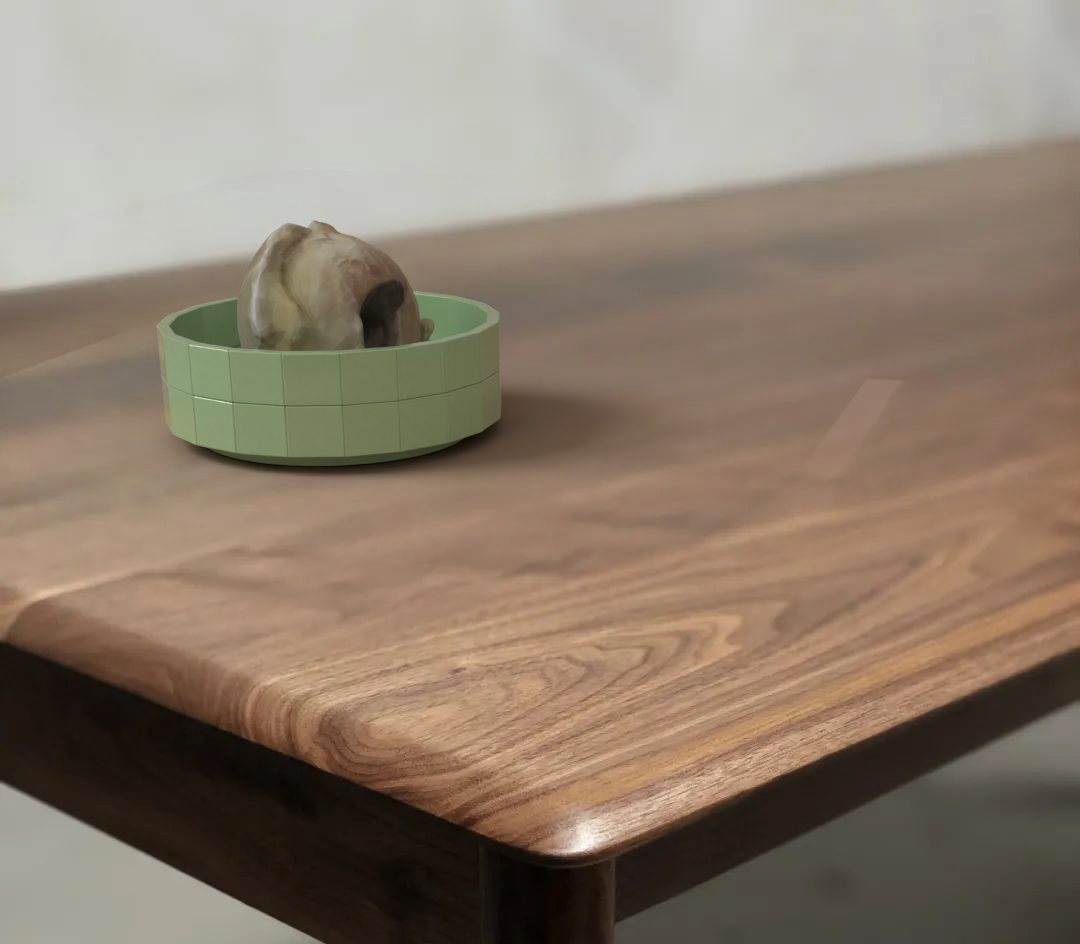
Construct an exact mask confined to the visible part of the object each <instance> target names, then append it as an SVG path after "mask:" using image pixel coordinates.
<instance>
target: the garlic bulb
mask: <svg viewBox="0 0 1080 944" xmlns="http://www.w3.org/2000/svg"><path fill="white" fill-rule="evenodd" d="M413 291H414V290H413V288H412V286H411V284H410V282H409V280H408V278H407V276H406V274H405V273H404V272H403V270H402V269H401V267H400V265H398V263H397V262H395V260H394V259H392V258H391V256H389V254H387V252H384V250H382V249H380V248H378V247H376V246H374V245H373V244H371V243H368V242H365V241H363V240H362V239H360V238H359V237H357V236H355V235H350V234H345V233H342V232H340V231H338V230H337V229H336V228H335V227H334V226H333V225H331V224H329V223H327V222H323V221H319V220H317V219H314V220H312V221H311V222H310V223H309V225H308V226H306V227H305V226H303V225H299V224H296V223H291V222H285V223H283V224H282V225H281V226H279V227H278V228H276V230H273V232H271V233H270V235H268V237H266V239H265V240H264V241H263V243H262V244H261V246H260V247H259V248H258V250H257V251H256V253H254V256H253V258H252V260H251V262H250V263H249V265H248V267H247V269H246V272H245V274H244V276H243V279H242V282H241V285H240V289H239V293H238V296H237V297H238V302H237V324H238V332H239V338H240V343H241V349H257V350H274V351H339V350H352V349H366V348H379V347H392V346H399V345H406V344H412V343H419V342H420V341H421V342H426V341H428V340H429V338H430V336H431V334H432V333H433V331H434V322H433V321H432V320H431V319H428V318H423V319H420V315H419V306H418V303H417V300H416V297H415V295H414V292H413Z"/></svg>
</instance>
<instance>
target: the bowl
mask: <svg viewBox="0 0 1080 944" xmlns="http://www.w3.org/2000/svg"><path fill="white" fill-rule="evenodd" d="M413 292H414V295H415V297H416V300H417V303H418V306H419V315H420V319H423V318H428V319H431V320H432V321H433V322H434V331H433V333H432V334H431V336H430V338H429V340H428V341H426V342H421V341H420V342H419V343H412V344H406V345H399V346H392V347H379V348H366V349H352V350H339V351H274V350H257V349H241V343H240V338H239V332H238V324H237V302H238V297H239V296H235V297H228V298H223V299H217V300H213V301H209V302H205V303H204V302H203V303H199V304H195V305H191V306H189V307H185V308H183V309H181V310H178V311H175V312H172V313H170V314H167V315H166V316H165V317H164V318H163V319H161V321H160V322H159V323H157V325H156V335H157V336H156V337H157V346H158V358H159V367H160V369H159V370H160V380H161V389H162V401H163V402H162V403H163V412H164V413H163V414H164V422H165V425H167V427H168V429H169V431H170V433H171V434H172V435H173V436H174V437H177V438H178V439H181V440H182V441H184V442H188V443H190V444H192V445H195V446H198V447H201V448H202V447H203V448H207V449H209V450H210V451H212V452H214V453H216V454H218V455H222V456H224V457H228V458H231V459H236V460H241V461H246V462H253V463H260V464H266V465H277V466H291V467H293V466H294V467H338V466H339V467H340V466H355V465H356V466H358V465H369V464H370V465H371V464H377V463H386V462H392V461H393V462H394V461H400V460H404V459H410V458H411V459H412V458H415V457H419V456H423V455H428V454H432V453H434V452H438V451H441V450H444V449H446V448H449V447H451V446H454V445H456V444H458V443H459V442H461V441H462V440H465V438H468V437H471V436H474V435H477V434H480V433H482V432H484V431H485V430H486V429H488V428H489V427H490V426H492V425H493V424H495V423H496V422H498V421H500V420H501V417H502V407H503V406H502V405H503V404H502V402H503V401H502V361H501V360H502V358H501V357H502V355H501V353H502V352H501V313H500V311H498V310H497V309H495V308H493V307H492V306H490V305H489V304H487V303H485V302H483V301H478V300H474V299H471V298H470V299H469V298H466V297H462V296H460V295H459V296H458V295H452V294H445V293H438V292H437V293H436V292H428V291H420V290H413Z"/></svg>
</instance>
